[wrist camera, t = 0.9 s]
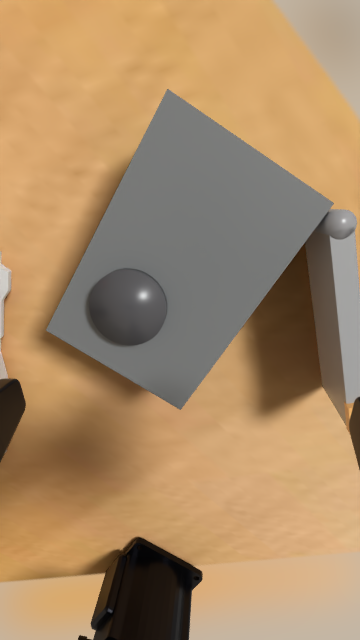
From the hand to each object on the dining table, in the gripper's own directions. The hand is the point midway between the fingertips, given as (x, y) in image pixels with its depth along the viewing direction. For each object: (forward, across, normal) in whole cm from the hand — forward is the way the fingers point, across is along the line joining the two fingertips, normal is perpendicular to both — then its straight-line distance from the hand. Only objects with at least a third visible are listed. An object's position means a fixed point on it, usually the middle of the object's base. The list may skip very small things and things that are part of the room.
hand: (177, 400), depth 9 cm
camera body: (+12, +1, 0) cm, 12 cm away
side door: (+12, -7, +2) cm, 14 cm away
